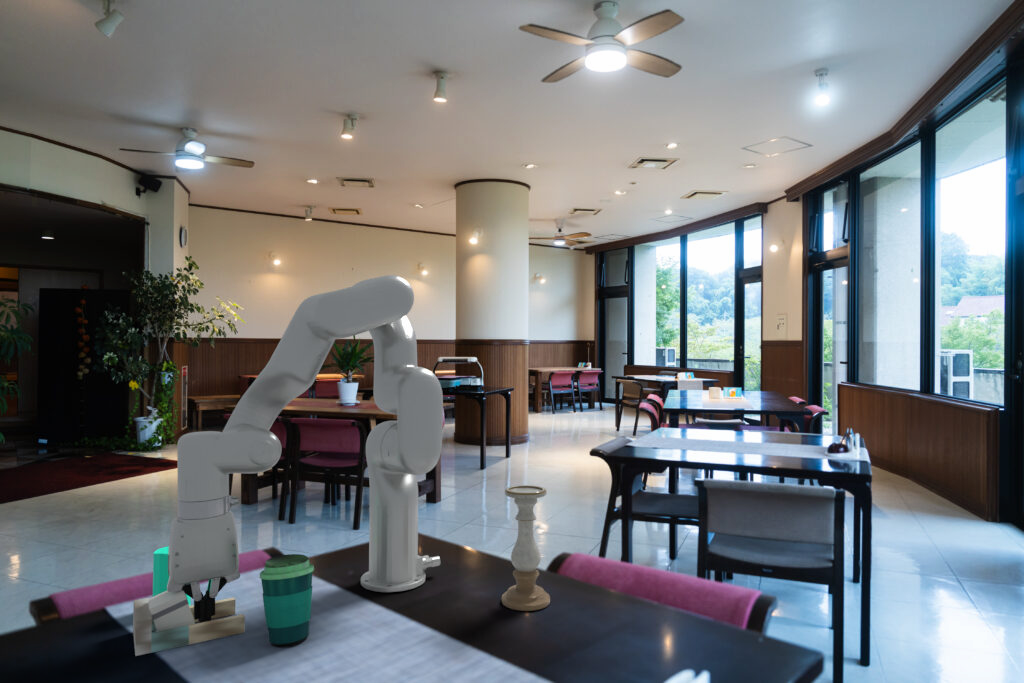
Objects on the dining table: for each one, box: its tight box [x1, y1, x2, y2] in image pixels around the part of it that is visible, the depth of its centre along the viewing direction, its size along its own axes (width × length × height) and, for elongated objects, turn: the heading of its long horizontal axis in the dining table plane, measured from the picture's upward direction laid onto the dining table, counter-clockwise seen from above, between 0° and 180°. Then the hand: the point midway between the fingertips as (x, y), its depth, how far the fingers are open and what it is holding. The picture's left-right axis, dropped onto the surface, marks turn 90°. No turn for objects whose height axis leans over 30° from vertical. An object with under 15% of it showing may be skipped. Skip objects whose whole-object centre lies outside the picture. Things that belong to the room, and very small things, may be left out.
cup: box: [259, 553, 315, 648], centre depth 99 cm, size 8×8×12 cm
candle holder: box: [501, 484, 551, 612], centre depth 113 cm, size 9×9×20 cm
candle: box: [152, 545, 192, 606], centre depth 110 cm, size 6×6×12 cm
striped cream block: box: [148, 590, 196, 632], centre depth 99 cm, size 5×5×6 cm
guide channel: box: [132, 597, 246, 657], centre depth 100 cm, size 15×10×5 cm, turn 123°
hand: (204, 621), depth 101 cm, fingers closed
